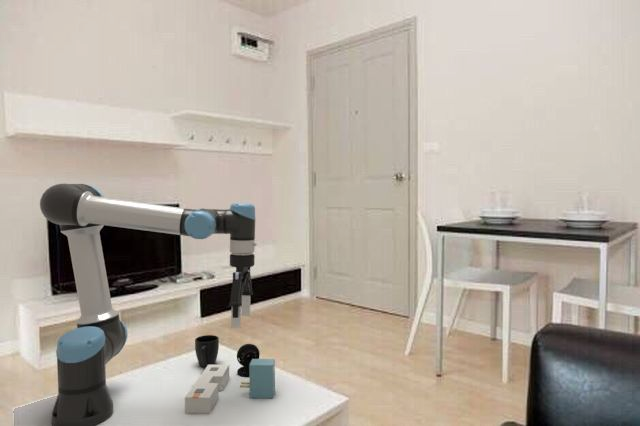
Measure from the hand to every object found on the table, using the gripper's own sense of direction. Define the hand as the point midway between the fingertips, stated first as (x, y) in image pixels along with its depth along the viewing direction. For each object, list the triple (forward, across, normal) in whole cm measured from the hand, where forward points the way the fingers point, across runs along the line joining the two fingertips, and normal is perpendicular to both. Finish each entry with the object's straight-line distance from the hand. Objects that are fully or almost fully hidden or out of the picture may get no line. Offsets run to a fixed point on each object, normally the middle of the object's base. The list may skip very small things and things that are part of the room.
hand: (241, 321), depth 140 cm
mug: (+22, +18, +16) cm, 33 cm away
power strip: (+22, +1, +9) cm, 24 cm away
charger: (+21, -3, -6) cm, 22 cm away
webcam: (+22, +13, 0) cm, 26 cm away
